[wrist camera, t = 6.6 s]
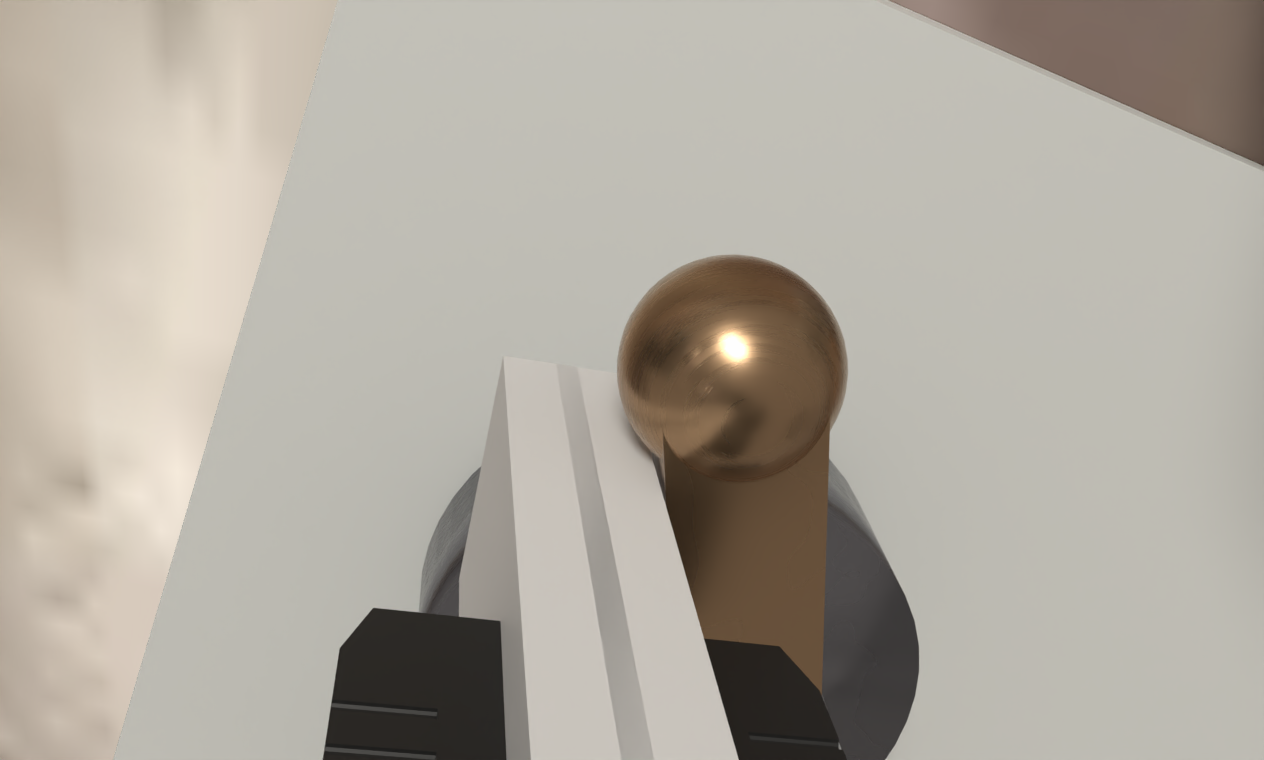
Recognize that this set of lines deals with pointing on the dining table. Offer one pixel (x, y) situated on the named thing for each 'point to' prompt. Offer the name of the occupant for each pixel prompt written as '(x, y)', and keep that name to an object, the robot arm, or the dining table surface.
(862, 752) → the capstan
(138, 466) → the dining table surface
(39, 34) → the dining table surface
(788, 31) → the white base plate
